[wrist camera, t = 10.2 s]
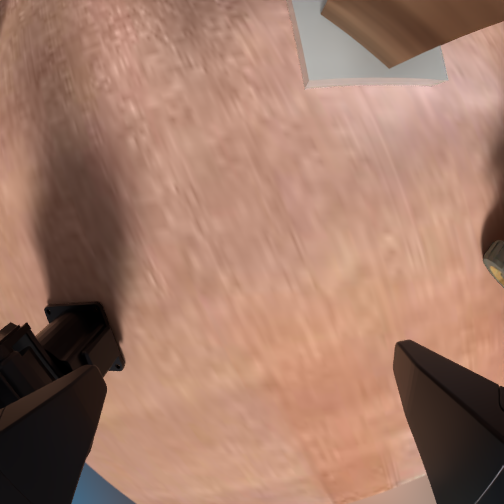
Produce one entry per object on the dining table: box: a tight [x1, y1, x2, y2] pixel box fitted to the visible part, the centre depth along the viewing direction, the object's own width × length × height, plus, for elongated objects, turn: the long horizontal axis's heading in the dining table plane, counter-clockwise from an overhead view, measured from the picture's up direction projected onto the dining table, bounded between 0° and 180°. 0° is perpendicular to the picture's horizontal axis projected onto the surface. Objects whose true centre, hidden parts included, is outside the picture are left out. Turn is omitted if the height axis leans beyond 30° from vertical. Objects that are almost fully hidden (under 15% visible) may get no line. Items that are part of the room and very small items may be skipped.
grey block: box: [286, 0, 448, 89], centre depth 15 cm, size 9×9×3 cm
